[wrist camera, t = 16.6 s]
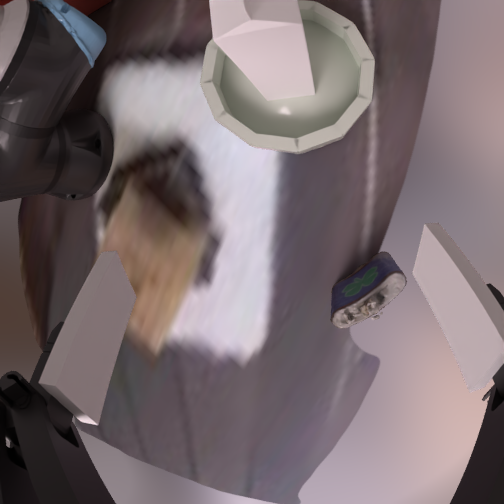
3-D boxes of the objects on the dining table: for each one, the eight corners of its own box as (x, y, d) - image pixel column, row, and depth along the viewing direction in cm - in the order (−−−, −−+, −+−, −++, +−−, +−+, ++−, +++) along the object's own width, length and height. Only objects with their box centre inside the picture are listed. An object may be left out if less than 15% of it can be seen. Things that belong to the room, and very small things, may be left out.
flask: (384, 246, 36) (404, 272, 26) (396, 264, 36) (418, 296, 26) (326, 288, 39) (325, 326, 29) (339, 305, 39) (341, 346, 29)
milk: (308, 52, 32) (282, -63, 11) (315, 96, 33) (300, 0, 12) (259, 59, 33) (189, -42, 12) (266, 102, 34) (194, 21, 14)
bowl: (185, 97, 37) (172, 91, 34) (273, -7, 31) (268, -21, 27) (304, 185, 37) (302, 186, 33) (398, 70, 30) (405, 59, 26)
